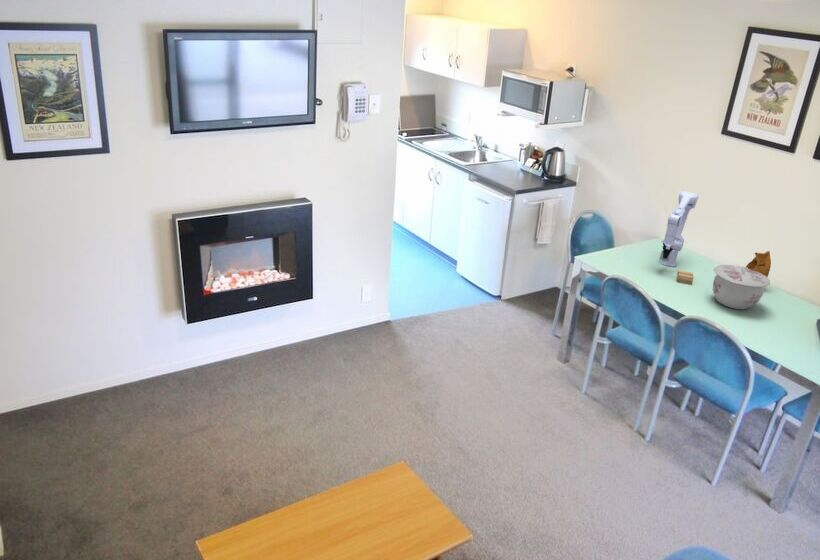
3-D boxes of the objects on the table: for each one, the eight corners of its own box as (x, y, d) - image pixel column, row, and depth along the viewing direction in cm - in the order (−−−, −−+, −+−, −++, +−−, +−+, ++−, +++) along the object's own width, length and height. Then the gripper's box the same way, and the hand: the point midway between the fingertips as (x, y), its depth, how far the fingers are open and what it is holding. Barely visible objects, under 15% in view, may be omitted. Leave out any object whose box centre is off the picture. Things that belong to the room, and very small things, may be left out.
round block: (659, 257, 388) (661, 249, 386) (668, 258, 386) (670, 251, 384) (659, 259, 383) (661, 252, 382) (668, 261, 382) (670, 254, 380)
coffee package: (735, 285, 379) (747, 249, 370) (751, 283, 384) (763, 247, 375) (749, 292, 371) (761, 256, 362) (766, 290, 376) (778, 254, 366)
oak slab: (677, 273, 382) (678, 269, 381) (691, 276, 380) (693, 272, 379) (677, 278, 375) (678, 274, 374) (692, 281, 373) (693, 277, 372)
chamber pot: (728, 317, 340) (740, 280, 331) (694, 293, 364) (704, 258, 355) (773, 314, 348) (786, 278, 339) (737, 291, 371) (748, 257, 363)
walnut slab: (676, 277, 383) (677, 273, 382) (691, 280, 381) (692, 276, 380) (676, 282, 376) (677, 278, 375) (691, 286, 374) (692, 282, 373)
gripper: (663, 229, 386) (658, 251, 392) (663, 237, 374) (657, 259, 379) (676, 232, 384) (670, 253, 390) (676, 239, 371) (670, 262, 377)
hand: (665, 256), depth 384 cm, fingers closed on round block, 5 cm apart
